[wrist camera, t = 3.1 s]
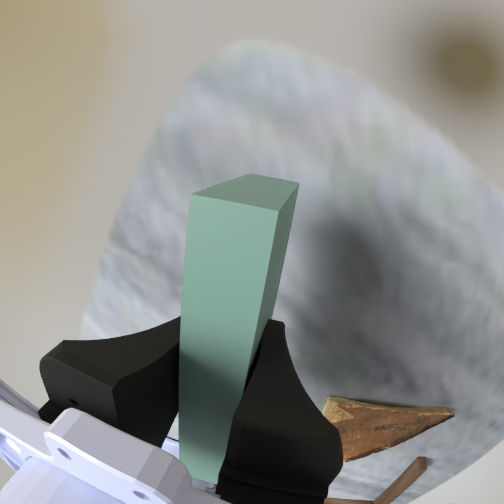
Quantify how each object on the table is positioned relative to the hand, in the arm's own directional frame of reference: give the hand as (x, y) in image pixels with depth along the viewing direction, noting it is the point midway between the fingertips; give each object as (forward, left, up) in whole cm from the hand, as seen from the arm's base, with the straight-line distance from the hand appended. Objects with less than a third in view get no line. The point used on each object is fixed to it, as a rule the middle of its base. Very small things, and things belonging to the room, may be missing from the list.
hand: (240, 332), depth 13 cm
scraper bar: (0, 0, -2) cm, 2 cm away
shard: (+10, -10, -7) cm, 16 cm away
